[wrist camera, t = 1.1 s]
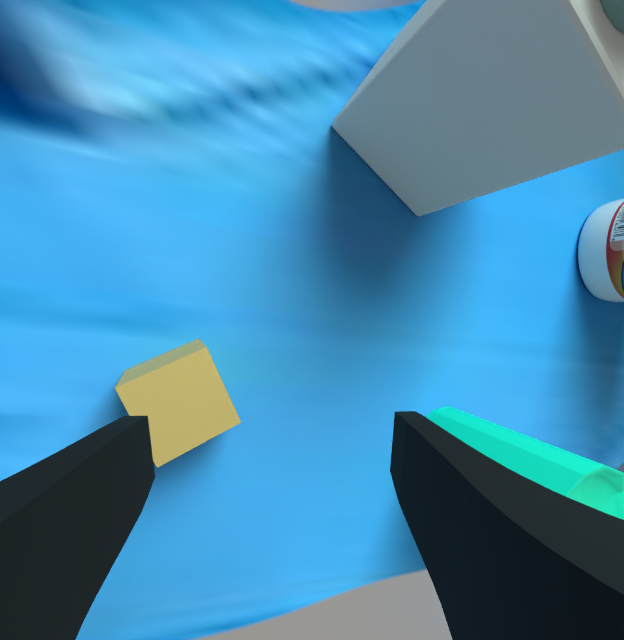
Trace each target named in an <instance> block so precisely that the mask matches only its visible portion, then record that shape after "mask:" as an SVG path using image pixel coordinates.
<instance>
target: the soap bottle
mask: <svg viewBox="0 0 624 640" xmlns="http://www.w3.org/2000/svg"><path fill="white" fill-rule="evenodd" d="M332 127H333V128H334V129H335V130H336V132H337V133H338V134H339V135H340V136H341V137H342V138H343V139H344V140H345V141H346V142H347V143H348V144H349V145H350V146H351V147H352V148H353V149H354V150H355V152H356V153H357V154H358V155H359V156H360V157H361V158H362V159H363V160H364V161H365V162H366V163H367V164H368V165H369V166H370V167H371V168H372V169H373V170H374V172H375V173H376V174H377V175H378V176H379V177H380V178H381V179H382V180H383V181H384V182H385V183H386V184H387V185H388V186H389V187H390V188H391V189H392V190H393V191H394V193H395V194H396V195H397V196H398V197H399V198H400V199H401V200H402V201H403V202H404V203H405V204H406V205H407V206H408V207H409V208H410V209H411V210H412V211H413V213H414V214H415V215H416V216H419V217H420V216H423V215H426V214H429V213H432V212H435V211H438V210H441V209H444V208H447V207H450V206H453V205H456V204H459V203H462V202H465V201H468V200H471V199H474V198H477V197H480V196H483V195H486V194H489V193H492V192H495V191H499V190H502V189H505V188H508V187H511V186H514V185H517V184H520V183H523V182H526V181H529V180H532V179H535V178H538V177H541V176H544V175H547V174H550V173H553V172H556V171H559V170H562V169H565V168H568V167H571V166H574V165H577V164H580V163H583V162H586V161H589V160H592V159H596V158H599V157H602V156H605V155H608V154H611V153H614V152H617V151H620V150H623V149H624V0H427V1H426V2H425V3H424V5H423V6H422V7H421V8H420V9H419V10H418V12H417V13H416V14H415V15H414V16H413V17H412V18H411V20H410V21H409V22H408V23H407V24H406V25H405V27H404V28H403V29H402V30H401V31H400V32H399V33H398V35H397V36H396V37H395V39H394V40H393V41H392V43H391V44H390V45H389V47H388V48H387V50H386V51H385V52H384V54H383V55H382V56H381V58H380V59H379V60H378V62H377V63H376V64H375V66H374V67H373V68H372V70H371V71H370V72H369V74H368V75H367V76H366V78H365V79H364V80H363V82H362V83H361V84H360V86H359V87H358V88H357V90H356V91H355V92H354V94H353V95H352V96H351V98H350V99H349V100H348V102H347V103H346V105H345V106H344V107H343V109H342V110H341V111H340V113H339V114H338V115H337V117H336V118H335V119H334V121H333V123H332Z"/></svg>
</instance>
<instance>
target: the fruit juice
mask: <svg viewBox="0 0 624 640" xmlns="http://www.w3.org/2000/svg"><path fill="white" fill-rule="evenodd" d="M578 263H579V269H580V273H581V277H582V279H583V282H584V284H585V286H586V287H587V289H588V290H589V291H590V292H591V293H592V294H593V295H594V296H595V297H597V298H599V299H601V300H605V301H611V302H624V199H619V200H615V201H612V202H609V203H606V204H604V205H602V206H600V207H598V208H597V209H595V210H594V211H593V212H592V213H591V214H590V215H589V217H588V218H587V220H586V222H585V224H584V226H583V228H582V231H581V234H580V239H579V245H578Z"/></svg>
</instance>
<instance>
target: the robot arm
mask: <svg viewBox="0 0 624 640" xmlns="http://www.w3.org/2000/svg"><path fill="white" fill-rule="evenodd" d="M390 472H391V476H392V480H393V483H394V487H395V491H396V494H397V497H398V501H399V504H400V506H401V509H402V511H403V514H404V516H405V518H406V521H407V523H408V526H409V528H410V530H411V533H412V535H413V537H414V540H415V542H416V544H417V547H418V549H419V551H420V554H421V556H422V558H423V561H424V563H425V565H426V568H427V570H428V572H429V575H430V577H431V579H432V582H433V584H434V587H435V589H436V592H437V595H438V597H439V600H440V602H441V605H442V608H443V611H444V614H445V617H446V621H447V624H448V627H449V630H450V633H451V636H452V639H453V640H624V520H623V519H620V518H617V517H615V516H612V515H609V514H607V513H604V512H602V511H599V510H597V509H595V508H592V507H590V506H587V505H585V504H582V503H580V502H578V501H575V500H573V499H570V498H568V497H566V496H564V495H561V494H559V493H557V492H555V491H552V490H550V489H548V488H546V487H544V486H542V485H540V484H538V483H536V482H534V481H532V480H530V479H528V478H526V477H524V476H522V475H520V474H518V473H516V472H514V471H512V470H510V469H508V468H507V467H505V466H503V465H501V464H500V463H498V462H496V461H494V460H493V459H491V458H489V457H487V456H486V455H484V454H482V453H481V452H479V451H477V450H476V449H474V448H473V447H471V446H469V445H468V444H466V443H465V442H463V441H461V440H460V439H458V438H457V437H455V436H454V435H452V434H451V433H449V432H448V431H446V430H444V429H443V428H441V427H440V426H438V425H437V424H435V423H434V422H432V421H431V420H429V419H428V418H426V417H424V416H423V415H421V414H419V413H417V412H415V411H408V412H395V418H394V430H393V442H392V454H391V466H390ZM154 478H155V473H154V464H153V456H152V447H151V438H150V430H149V421H148V416H125V417H122V418H120V419H118V420H116V421H114V422H112V423H110V424H108V425H106V426H104V427H102V428H100V429H99V430H97V431H95V432H93V433H91V434H89V435H88V436H86V437H84V438H82V439H80V440H79V441H77V442H75V443H73V444H71V445H69V446H68V447H66V448H64V449H62V450H60V451H59V452H57V453H55V454H53V455H51V456H49V457H47V458H45V459H43V460H41V461H39V462H37V463H36V464H34V465H32V466H30V467H28V468H26V469H24V470H22V471H20V472H18V473H16V474H14V475H12V476H10V477H8V478H6V479H4V480H2V481H0V640H75V639H76V637H77V635H78V632H79V630H80V628H81V625H82V623H83V621H84V619H85V617H86V615H87V613H88V611H89V609H90V607H91V605H92V603H93V601H94V599H95V597H96V595H97V593H98V592H99V590H100V588H101V586H102V584H103V582H104V580H105V579H106V577H107V575H108V573H109V571H110V569H111V568H112V566H113V564H114V562H115V560H116V558H117V557H118V555H119V553H120V551H121V549H122V547H123V546H124V544H125V542H126V540H127V538H128V536H129V534H130V533H131V531H132V529H133V527H134V525H135V523H136V521H137V519H138V517H139V516H140V514H141V512H142V509H143V507H144V504H145V502H146V499H147V497H148V494H149V492H150V489H151V486H152V483H153V481H154Z"/></svg>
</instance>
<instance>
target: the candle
mask: <svg viewBox="0 0 624 640" xmlns="http://www.w3.org/2000/svg"><path fill="white" fill-rule="evenodd" d="M426 418H428V419H429V420H431V421H432V422H434V423H435V424H437V425H438V426H440V427H441V428H443V429H444V430H446V431H448V432H449V433H451V434H452V435H454V436H455V437H457V438H458V439H460V440H461V441H463V442H465V443H466V444H468V445H469V446H471V447H473V448H474V449H476V450H477V451H479V452H481V453H482V454H484V455H486V456H487V457H489V458H491V459H493V460H494V461H496V462H498V463H500V464H501V465H503V466H505V467H507V468H508V469H510V470H512V471H514V472H516V473H518V474H520V475H522V476H524V477H526V478H528V479H530V480H532V481H534V482H536V483H538V484H540V485H542V486H544V487H546V488H548V489H550V490H552V491H555V492H557V493H559V494H561V495H564V496H566V497H568V498H570V499H573V500H575V501H578V502H580V503H582V504H585V505H587V506H590V507H592V508H595V509H597V510H599V511H602V512H604V513H607V514H609V515H612V516H615V517H617V518H620V519H623V520H624V473H623V472H621V471H618V470H616V469H613V468H611V467H608V466H606V465H603V464H600V463H598V462H595V461H592V460H590V459H587V458H584V457H582V456H579V455H576V454H574V453H571V452H569V451H566V450H563V449H561V448H558V447H555V446H553V445H550V444H547V443H545V442H542V441H539V440H537V439H534V438H532V437H529V436H526V435H524V434H521V433H518V432H516V431H513V430H510V429H508V428H505V427H502V426H500V425H497V424H494V423H492V422H489V421H487V420H484V419H481V418H479V417H476V416H473V415H471V414H468V413H465V412H463V411H460V410H457V409H455V408H452V407H450V406H446V407H442V408H439V409H436V410H433V411H431V412H430V413H429V414H428V415H427V417H426Z"/></svg>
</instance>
